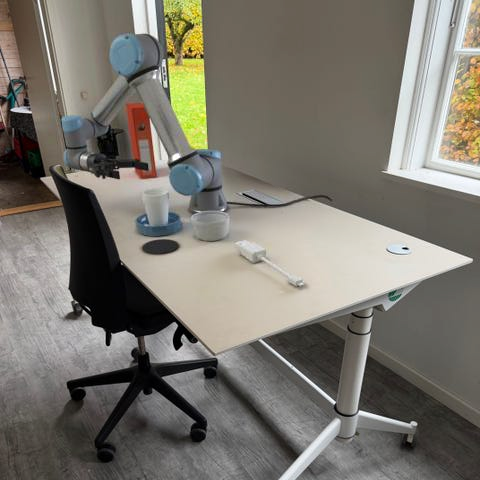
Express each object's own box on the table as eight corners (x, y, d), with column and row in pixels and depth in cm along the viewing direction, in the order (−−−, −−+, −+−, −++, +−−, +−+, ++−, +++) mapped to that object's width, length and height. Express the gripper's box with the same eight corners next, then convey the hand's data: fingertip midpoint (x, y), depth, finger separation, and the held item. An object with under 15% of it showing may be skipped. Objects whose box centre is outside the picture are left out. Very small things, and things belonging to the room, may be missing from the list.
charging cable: (295, 292, 129) (295, 282, 127) (233, 250, 152) (233, 240, 150) (309, 288, 131) (310, 277, 130) (247, 246, 154) (247, 237, 152)
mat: (179, 239, 162) (179, 238, 162) (177, 253, 152) (177, 252, 151) (144, 241, 161) (144, 239, 161) (140, 255, 151) (140, 254, 151)
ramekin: (212, 226, 172) (212, 207, 169) (237, 235, 164) (237, 216, 161) (184, 236, 164) (183, 216, 161) (209, 246, 156) (208, 226, 153)
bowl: (182, 220, 178) (181, 210, 176) (180, 236, 165) (179, 225, 163) (139, 221, 178) (138, 212, 176) (133, 237, 164) (132, 227, 162)
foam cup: (150, 234, 166) (146, 197, 159) (142, 226, 173) (138, 190, 166) (175, 229, 169) (172, 193, 162) (167, 221, 176) (163, 187, 170)
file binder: (140, 179, 230) (131, 108, 213) (134, 170, 244) (125, 103, 227) (156, 177, 232) (148, 106, 215) (150, 169, 246) (142, 102, 229)
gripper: (122, 166, 187) (159, 174, 177) (69, 180, 171) (107, 190, 160) (119, 146, 183) (157, 153, 173) (65, 159, 167) (103, 167, 156)
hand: (133, 171), depth 166 cm, fingers open, 13 cm apart
